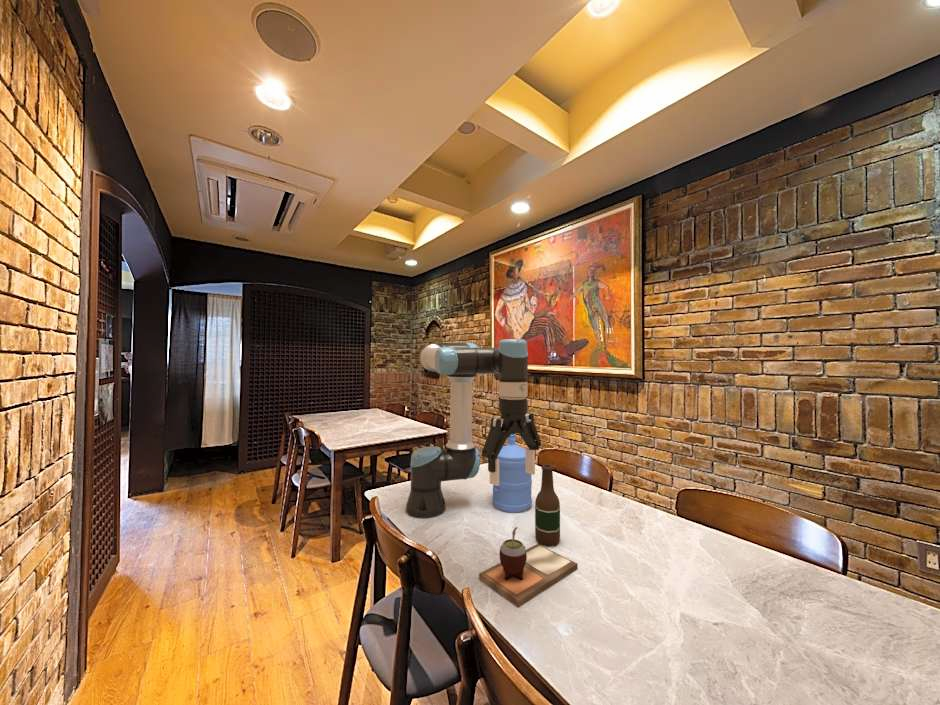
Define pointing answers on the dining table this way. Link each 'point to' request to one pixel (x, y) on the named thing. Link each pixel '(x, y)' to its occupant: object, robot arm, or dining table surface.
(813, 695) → the dining table surface
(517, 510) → the water jug
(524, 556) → the mate gourd
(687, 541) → the dining table surface
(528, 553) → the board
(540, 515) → the beer bottle
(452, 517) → the dining table surface
